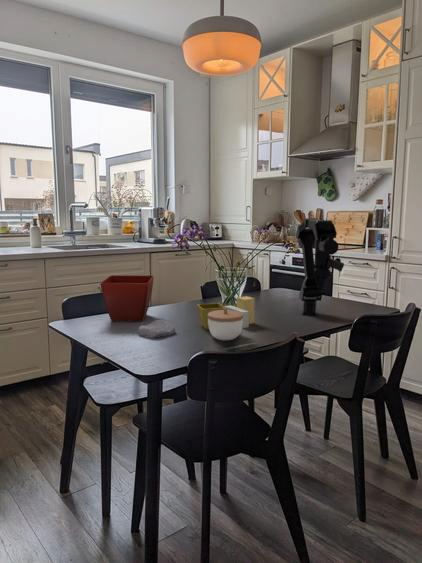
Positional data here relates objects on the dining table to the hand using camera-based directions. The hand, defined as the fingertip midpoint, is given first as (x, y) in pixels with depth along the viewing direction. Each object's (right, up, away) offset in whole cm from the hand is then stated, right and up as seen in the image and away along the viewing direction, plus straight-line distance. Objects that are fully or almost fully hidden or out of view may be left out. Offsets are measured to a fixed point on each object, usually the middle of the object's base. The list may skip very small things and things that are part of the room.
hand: (320, 290), depth 177 cm
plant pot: (-78, -12, +9) cm, 80 cm away
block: (-32, -13, -3) cm, 34 cm away
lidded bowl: (-39, -17, -20) cm, 47 cm away
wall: (-34, -13, -4) cm, 37 cm away
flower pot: (-44, -15, -7) cm, 47 cm away
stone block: (-64, -16, -14) cm, 67 cm away
